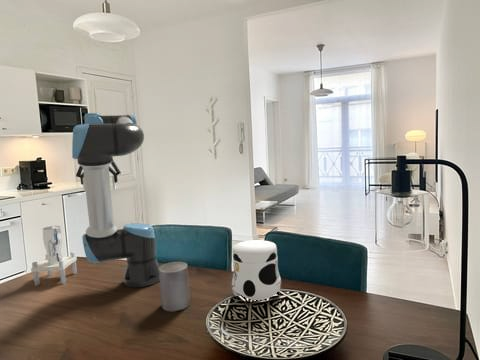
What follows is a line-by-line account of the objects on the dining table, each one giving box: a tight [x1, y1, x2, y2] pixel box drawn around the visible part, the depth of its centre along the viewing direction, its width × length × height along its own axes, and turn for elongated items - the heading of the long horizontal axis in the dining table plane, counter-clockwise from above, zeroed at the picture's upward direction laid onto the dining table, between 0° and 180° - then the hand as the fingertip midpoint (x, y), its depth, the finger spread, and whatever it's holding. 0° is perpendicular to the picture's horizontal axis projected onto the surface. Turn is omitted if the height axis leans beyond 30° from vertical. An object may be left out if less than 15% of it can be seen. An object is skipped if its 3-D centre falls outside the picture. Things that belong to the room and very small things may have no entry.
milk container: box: [231, 239, 282, 300], centre depth 123 cm, size 17×17×18 cm
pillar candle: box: [159, 261, 191, 313], centre depth 119 cm, size 10×10×15 cm
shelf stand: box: [30, 251, 78, 286], centre depth 151 cm, size 13×13×10 cm
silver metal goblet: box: [42, 225, 63, 264], centre depth 150 cm, size 7×7×15 cm
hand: (100, 190), depth 170 cm, fingers open, 13 cm apart
